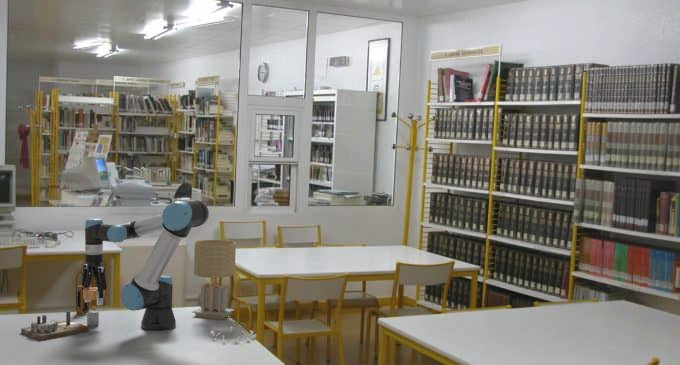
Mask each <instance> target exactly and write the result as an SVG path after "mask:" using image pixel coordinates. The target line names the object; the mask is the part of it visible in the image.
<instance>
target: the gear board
mask: <svg viewBox="0 0 680 365" xmlns="http://www.w3.org/2000/svg"><path fill="white" fill-rule="evenodd" d="M41 316H42V317H41ZM41 316H40V315H37V317H36V318H37V319H36V321H32V322H31V323H30V326H27V327H22V328H21V330H20V334H23V335H25V336H28V337H31V338H33V339H36V340H38V341H46V340H51V339H54V338H56V339H57V338H59V337H66V336H70V335H76V334H77V335H78V334H82V333H86V332H87V333H88V332H90V331H89V329H90V328H89V327H90V326H87V325H84V324H82V323H79V322H76V321H72V320H71V311H70V310H67V311H66V318H65V319H66V320H63V321H62V320H61V321H57V320H55V319H50V320H49V319H47V315H46V314H44V315H41ZM41 318H42V320H41Z"/></svg>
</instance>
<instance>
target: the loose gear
mask: <svg viewBox="0 0 680 365" xmlns="http://www.w3.org/2000/svg"><path fill="white" fill-rule="evenodd" d="M96 290H98V289H97V286H95V287H91V288H87V289H83V298H84V299H85V300H91V301H95V300H96V301H97V291H96ZM105 291H106V290H104V291H103V299H105V293H106V292H105Z"/></svg>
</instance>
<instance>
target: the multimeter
mask: <svg viewBox="0 0 680 365" xmlns="http://www.w3.org/2000/svg"><path fill="white" fill-rule="evenodd" d="M80 273H81V275H82V276H83V273H82V271H80V272H78V273H77V275H76V276H78V275H79V274H80ZM77 278H78V277H76V279H75V300H76V301H75V305H76V306H75V308H76V315H77V316H80V317H81V316H87V312H88V311H90V310H92V308H91V307H90V305H91V304H90V303H91V302H86V303H85V299H84V298H83V289H85V288H84V286H82V285H81V284H80V285H77V283H78V279H77ZM84 283H85V282H84ZM93 311H96V308H95V309H94V308H93ZM84 313H86V314H84Z"/></svg>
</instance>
